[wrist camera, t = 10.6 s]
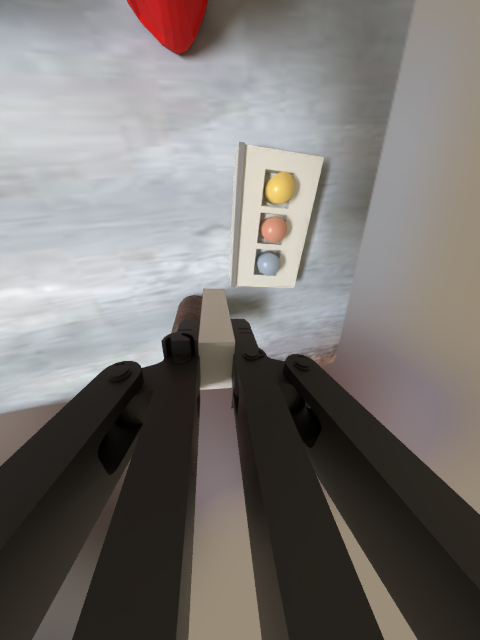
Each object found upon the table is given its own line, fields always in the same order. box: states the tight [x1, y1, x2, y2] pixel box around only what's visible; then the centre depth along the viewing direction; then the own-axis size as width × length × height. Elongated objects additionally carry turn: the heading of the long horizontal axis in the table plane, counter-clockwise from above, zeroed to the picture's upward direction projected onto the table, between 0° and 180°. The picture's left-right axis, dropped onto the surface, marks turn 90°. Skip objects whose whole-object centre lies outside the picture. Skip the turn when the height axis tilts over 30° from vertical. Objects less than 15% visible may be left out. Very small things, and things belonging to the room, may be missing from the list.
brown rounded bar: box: [172, 296, 202, 333], centre depth 35 cm, size 8×7×20 cm
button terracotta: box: [259, 217, 287, 243], centre depth 33 cm, size 4×4×4 cm
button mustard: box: [264, 171, 295, 205], centre depth 30 cm, size 4×4×4 cm
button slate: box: [256, 251, 281, 276], centre depth 36 cm, size 4×4×4 cm
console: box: [229, 142, 324, 288], centre depth 35 cm, size 22×14×6 cm, turn 176°
